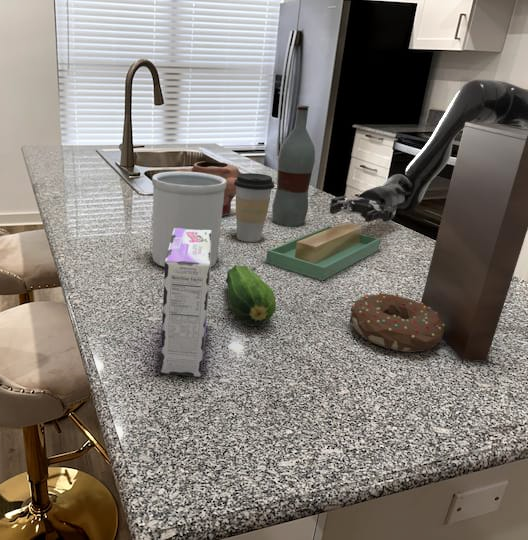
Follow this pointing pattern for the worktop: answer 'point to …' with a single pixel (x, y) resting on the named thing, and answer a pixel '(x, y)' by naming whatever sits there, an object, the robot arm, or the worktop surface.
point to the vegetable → (249, 296)
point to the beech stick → (328, 243)
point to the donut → (396, 322)
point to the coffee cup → (252, 204)
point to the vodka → (294, 174)
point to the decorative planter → (223, 171)
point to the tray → (325, 268)
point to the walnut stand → (479, 236)
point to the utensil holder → (186, 208)
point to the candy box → (185, 301)
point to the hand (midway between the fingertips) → (349, 213)
